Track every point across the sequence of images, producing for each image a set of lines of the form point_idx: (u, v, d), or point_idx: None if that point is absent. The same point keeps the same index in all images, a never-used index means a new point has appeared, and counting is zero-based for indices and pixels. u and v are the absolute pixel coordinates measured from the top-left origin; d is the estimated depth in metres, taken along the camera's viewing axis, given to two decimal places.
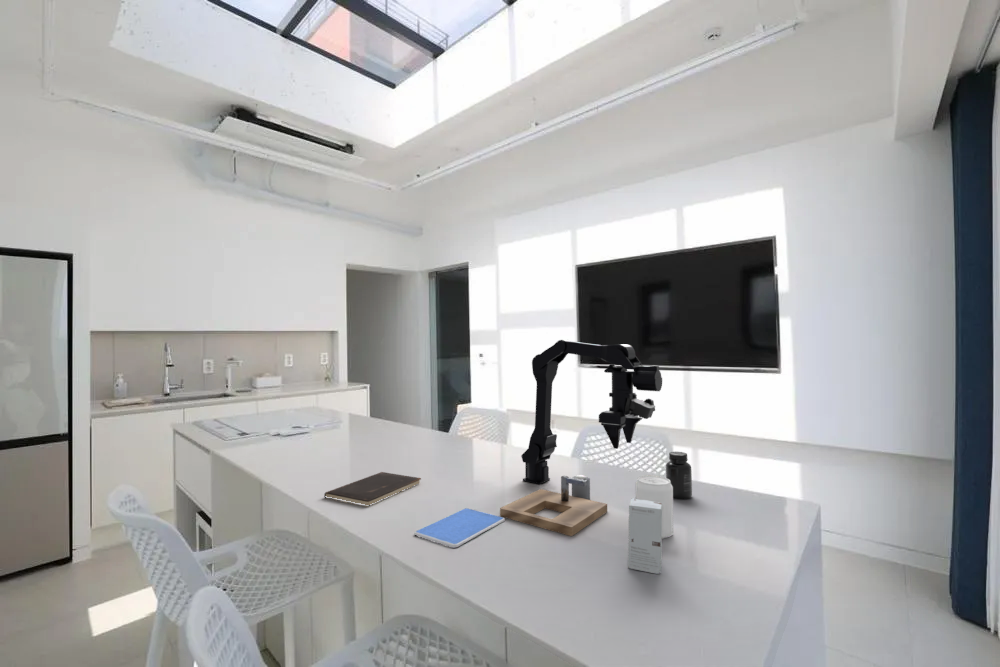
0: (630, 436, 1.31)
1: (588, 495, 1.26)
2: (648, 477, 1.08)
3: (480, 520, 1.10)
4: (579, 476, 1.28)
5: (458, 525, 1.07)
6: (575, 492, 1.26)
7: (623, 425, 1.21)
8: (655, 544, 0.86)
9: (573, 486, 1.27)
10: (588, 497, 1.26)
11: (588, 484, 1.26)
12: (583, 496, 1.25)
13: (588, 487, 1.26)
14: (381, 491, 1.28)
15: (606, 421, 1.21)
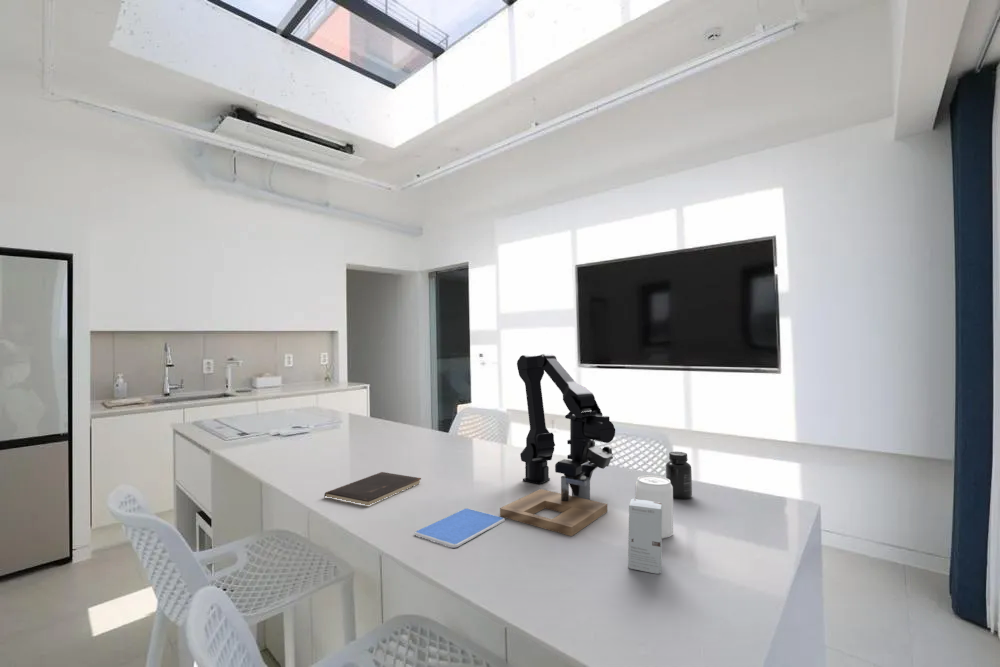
0: None
1: (588, 495, 1.26)
2: (648, 477, 1.08)
3: (480, 520, 1.10)
4: None
5: (458, 525, 1.07)
6: None
7: (582, 474, 1.23)
8: (655, 544, 0.86)
9: None
10: (588, 497, 1.26)
11: (588, 484, 1.26)
12: (583, 496, 1.25)
13: (588, 487, 1.26)
14: (381, 491, 1.28)
15: (562, 471, 1.21)
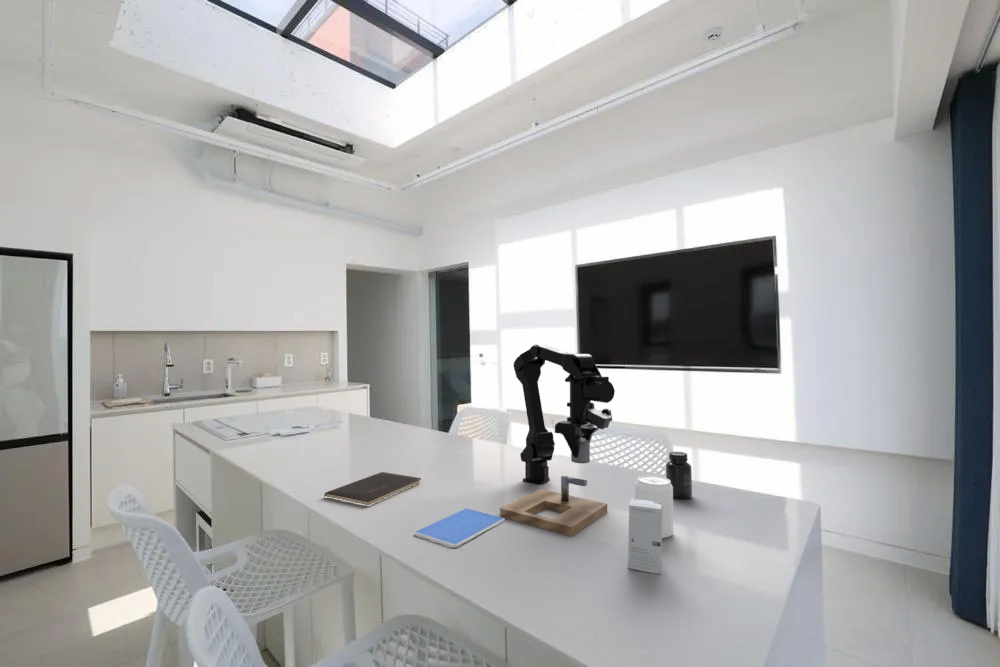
0: None
1: (588, 457, 1.26)
2: (648, 477, 1.08)
3: (480, 520, 1.10)
4: None
5: (458, 525, 1.07)
6: None
7: (582, 434, 1.23)
8: (655, 544, 0.86)
9: None
10: (588, 459, 1.26)
11: (588, 446, 1.26)
12: (583, 458, 1.26)
13: (588, 449, 1.26)
14: (381, 491, 1.28)
15: (561, 431, 1.21)
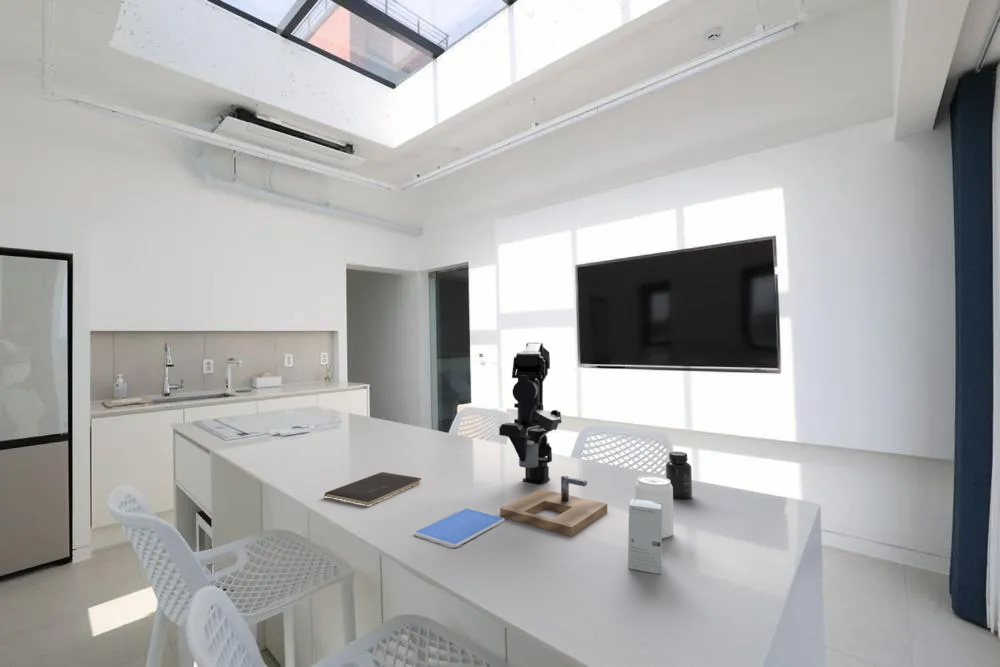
0: None
1: (536, 461, 1.19)
2: (648, 477, 1.08)
3: (480, 520, 1.10)
4: (527, 441, 1.21)
5: (458, 525, 1.07)
6: None
7: (528, 437, 1.16)
8: (655, 544, 0.86)
9: None
10: (536, 463, 1.19)
11: (536, 449, 1.19)
12: (530, 462, 1.18)
13: (536, 452, 1.19)
14: (381, 491, 1.28)
15: (506, 434, 1.14)
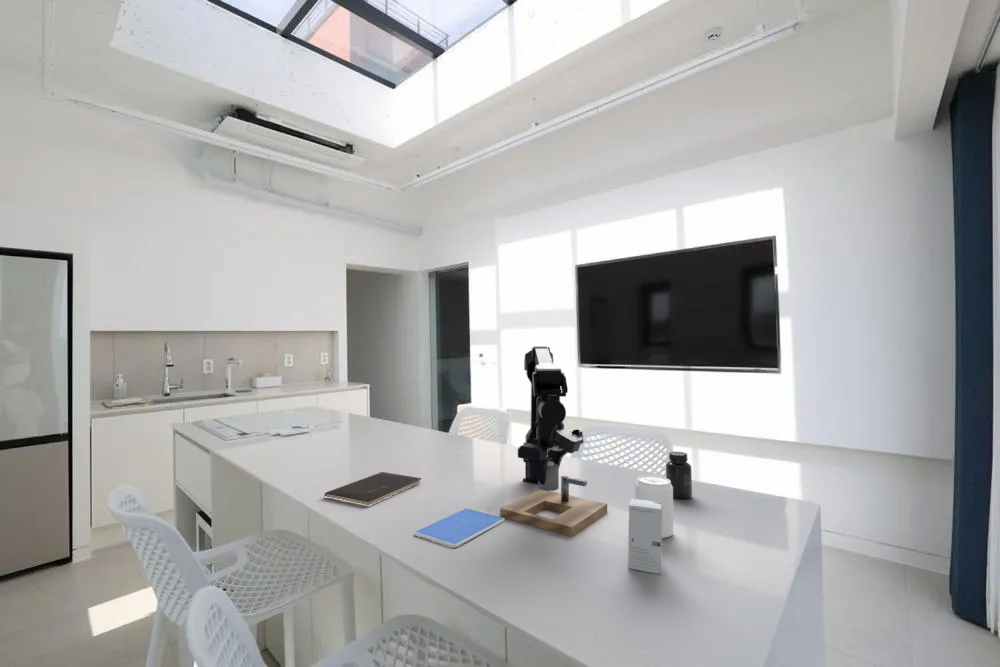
0: None
1: (556, 483, 1.12)
2: (648, 477, 1.08)
3: (480, 520, 1.10)
4: None
5: (458, 525, 1.07)
6: None
7: (548, 459, 1.09)
8: (655, 544, 0.86)
9: None
10: (556, 485, 1.12)
11: (556, 471, 1.13)
12: (550, 484, 1.12)
13: (556, 474, 1.13)
14: (381, 491, 1.28)
15: (525, 456, 1.07)
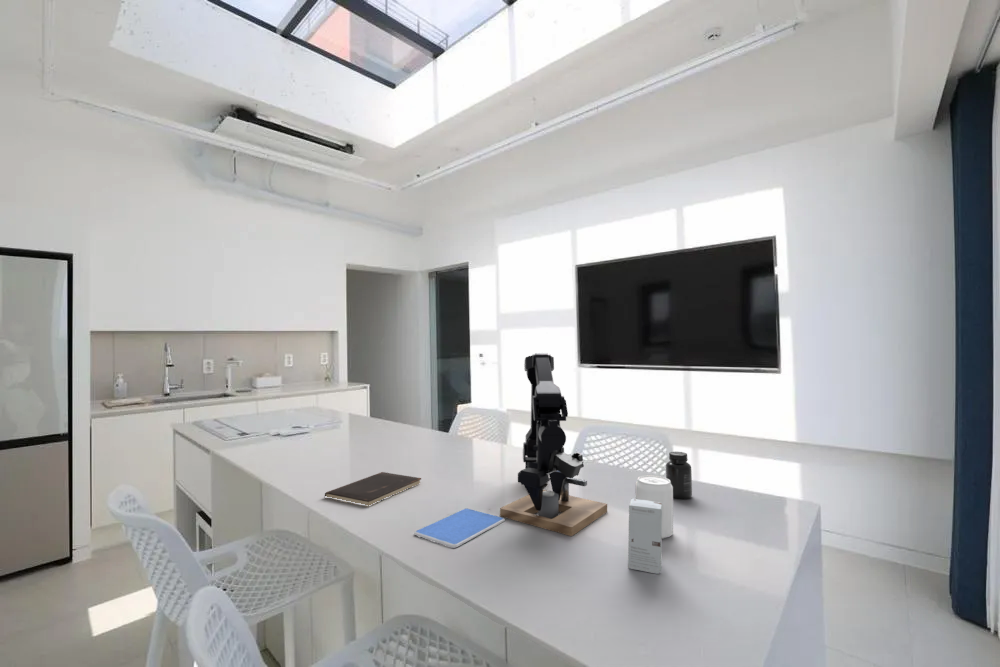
0: (558, 493, 1.17)
1: (556, 514, 1.12)
2: (648, 477, 1.08)
3: (480, 520, 1.10)
4: (546, 492, 1.14)
5: (458, 525, 1.07)
6: (541, 510, 1.12)
7: (544, 486, 1.07)
8: (655, 544, 0.86)
9: None
10: None
11: (556, 501, 1.12)
12: (550, 515, 1.11)
13: (556, 505, 1.12)
14: (381, 491, 1.28)
15: (525, 481, 1.07)
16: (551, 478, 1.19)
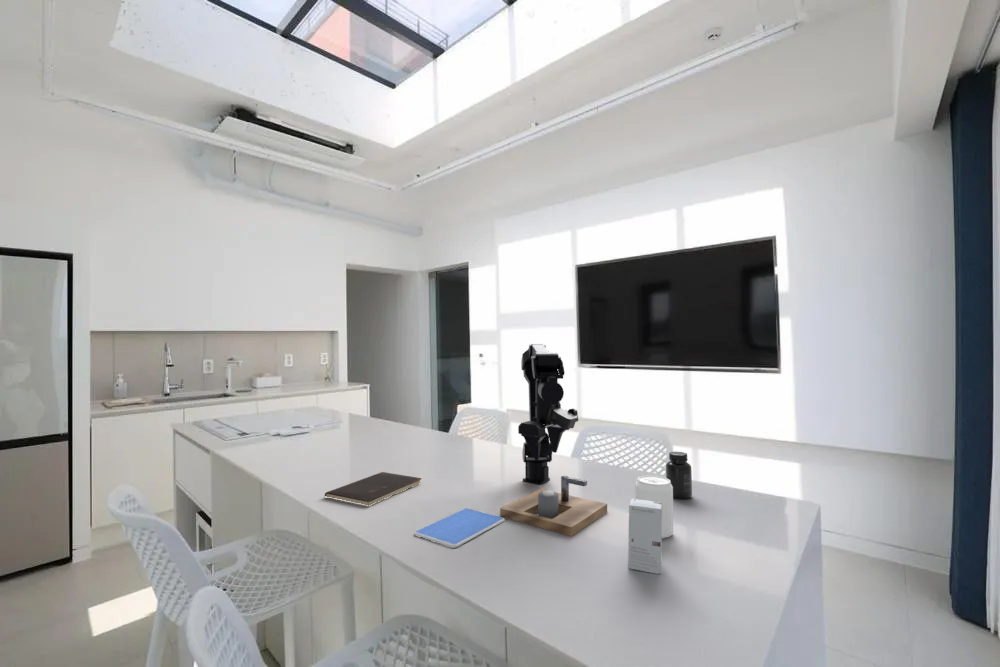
0: (556, 446, 1.29)
1: (556, 514, 1.12)
2: (648, 477, 1.08)
3: (480, 520, 1.10)
4: (546, 492, 1.14)
5: (458, 525, 1.07)
6: (541, 510, 1.12)
7: (542, 436, 1.18)
8: (655, 544, 0.86)
9: (539, 503, 1.13)
10: None
11: (556, 501, 1.12)
12: (550, 515, 1.11)
13: (556, 505, 1.12)
14: (382, 491, 1.28)
15: (525, 432, 1.18)
16: (549, 433, 1.30)
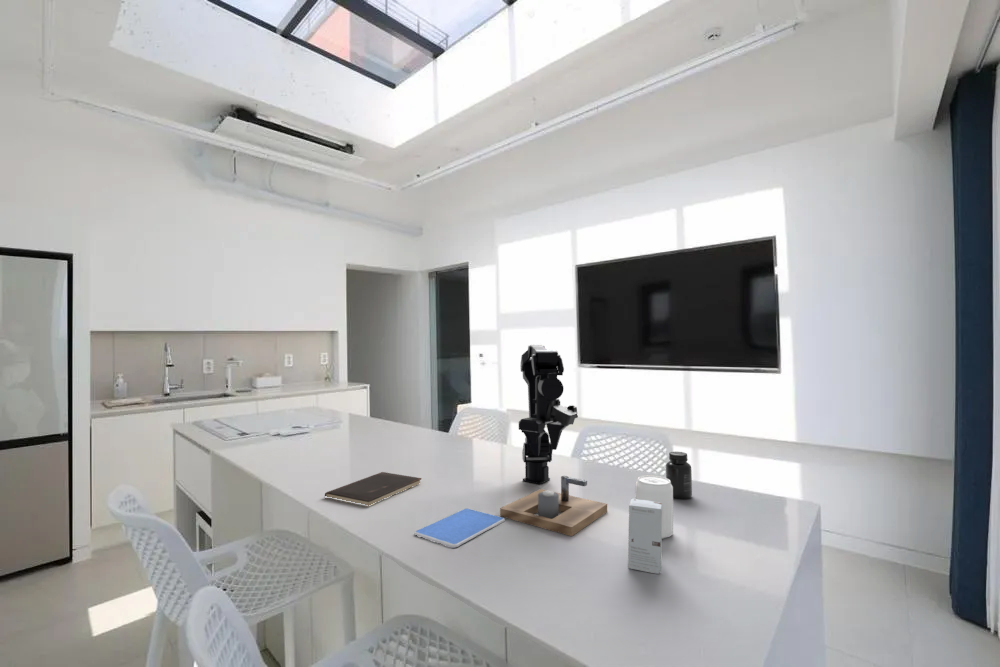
0: (555, 443, 1.30)
1: (556, 514, 1.12)
2: (648, 477, 1.08)
3: (480, 520, 1.10)
4: (546, 492, 1.14)
5: (458, 525, 1.07)
6: (541, 510, 1.12)
7: (542, 432, 1.20)
8: (655, 544, 0.86)
9: (539, 503, 1.13)
10: None
11: (556, 501, 1.12)
12: (550, 515, 1.11)
13: (556, 505, 1.12)
14: (382, 491, 1.28)
15: (525, 428, 1.20)
16: (549, 430, 1.32)
